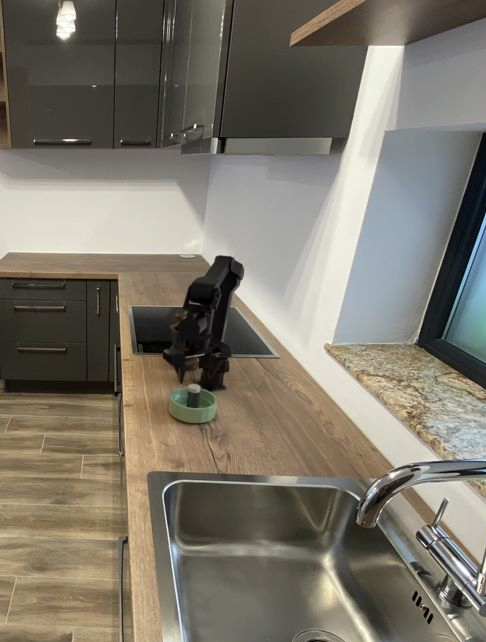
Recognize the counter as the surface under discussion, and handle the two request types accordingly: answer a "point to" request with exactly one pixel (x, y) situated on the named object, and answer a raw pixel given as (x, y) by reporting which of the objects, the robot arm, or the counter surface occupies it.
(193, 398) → the shaker
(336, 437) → the counter surface
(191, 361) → the pottery vessel
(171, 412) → the bowl
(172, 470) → the counter surface
